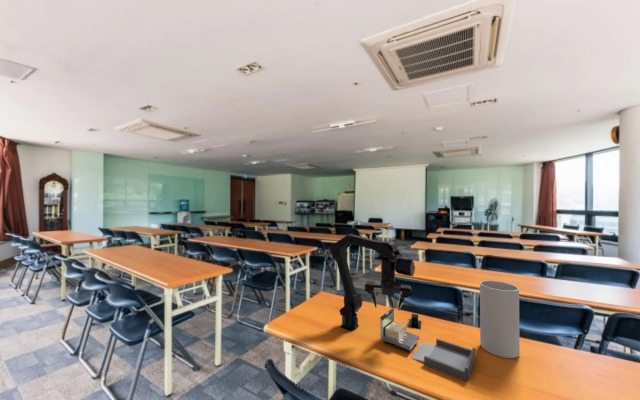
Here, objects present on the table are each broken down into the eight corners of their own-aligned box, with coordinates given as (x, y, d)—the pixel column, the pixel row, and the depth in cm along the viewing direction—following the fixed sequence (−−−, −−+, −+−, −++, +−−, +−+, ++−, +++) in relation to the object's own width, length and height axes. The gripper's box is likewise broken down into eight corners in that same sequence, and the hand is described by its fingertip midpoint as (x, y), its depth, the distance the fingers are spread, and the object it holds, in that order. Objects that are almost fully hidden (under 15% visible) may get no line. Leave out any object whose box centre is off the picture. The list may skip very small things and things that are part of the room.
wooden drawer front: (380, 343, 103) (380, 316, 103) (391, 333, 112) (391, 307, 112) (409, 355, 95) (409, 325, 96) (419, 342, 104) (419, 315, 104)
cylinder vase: (519, 348, 100) (519, 284, 101) (519, 364, 90) (519, 293, 91) (482, 337, 108) (481, 278, 108) (478, 351, 98) (478, 286, 98)
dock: (409, 361, 93) (409, 348, 93) (423, 343, 105) (423, 331, 105) (467, 385, 81) (467, 369, 81) (475, 361, 93) (475, 347, 93)
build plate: (422, 333, 113) (422, 322, 113) (405, 330, 116) (405, 319, 116) (422, 320, 125) (422, 311, 125) (407, 318, 127) (407, 309, 127)
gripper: (364, 274, 101) (363, 314, 101) (413, 279, 97) (412, 320, 97) (366, 267, 112) (365, 303, 112) (410, 271, 107) (409, 308, 107)
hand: (387, 308), depth 107 cm, fingers open, 9 cm apart
